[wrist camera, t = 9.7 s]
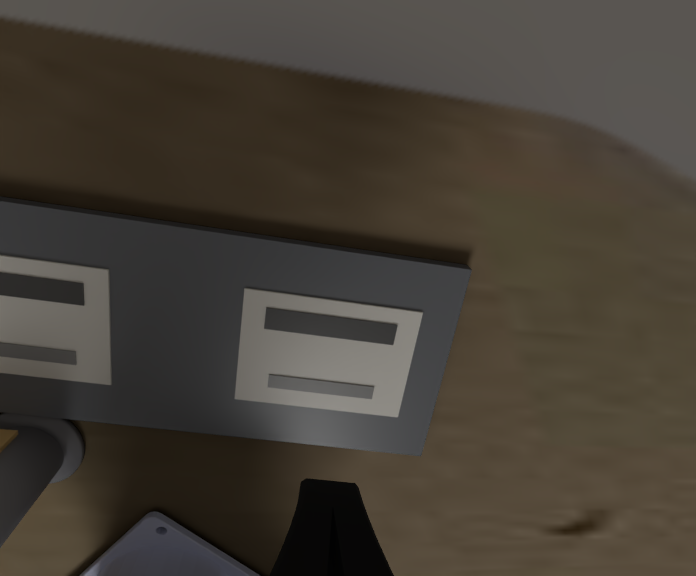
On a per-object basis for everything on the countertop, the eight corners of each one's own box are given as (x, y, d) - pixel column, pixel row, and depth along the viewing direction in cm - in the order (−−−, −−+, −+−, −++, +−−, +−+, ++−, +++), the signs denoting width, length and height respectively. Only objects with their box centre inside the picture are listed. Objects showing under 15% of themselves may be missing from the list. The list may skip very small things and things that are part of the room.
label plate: (467, 265, 18) (473, 271, 17) (401, 511, 23) (403, 524, 22) (-135, 176, 16) (-157, 179, 15) (-76, 467, 21) (-90, 480, 20)
